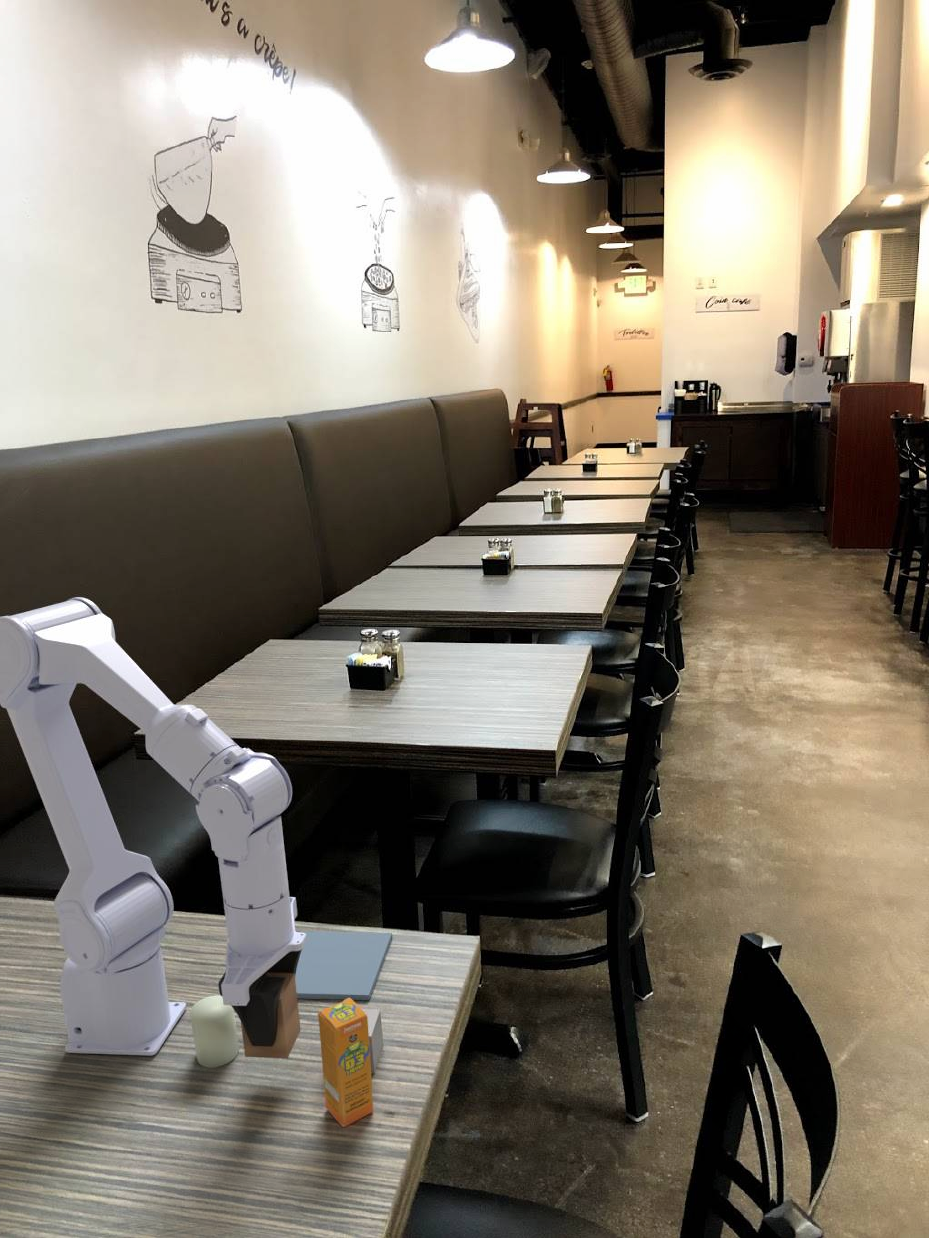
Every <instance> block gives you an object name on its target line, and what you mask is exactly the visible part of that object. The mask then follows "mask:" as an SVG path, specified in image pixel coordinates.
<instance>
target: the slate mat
mask: <svg viewBox="0 0 929 1238" xmlns="http://www.w3.org/2000/svg"><path fill="white" fill-rule="evenodd" d="M300 932H303V933H305V934H306V938H307V941H306V943H305V945H304V947H303V949H302V951H301V954H300V957H299V961H298V965H297V969H296V975H295V982H296V992H297V999H307V1000H310V999H313V1000H342V1001H344V1000H345V999H347V998H351V999H352V1000H353V1001H370V1000H371V997H372V994H373V992H374V989H375V986H376V984H377V980H378V979H379V975H380V972H381V969H382V966H383V964H384V961H385V959H386V956H387V954H388V951H389V948H390V945H391V943H392V939H393V933H392V932H369V931H368V932H367V931H365V932H364V931H362V932H359V931H309V930H308V931H301V930H300Z"/></svg>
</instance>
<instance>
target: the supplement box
mask: <svg viewBox="0 0 929 1238" xmlns="http://www.w3.org/2000/svg"><path fill="white" fill-rule="evenodd" d="M362 1009H363V1008H361V1007H360V1006H359V1005H358V1004H357V1003H356V1002H355V1000H352V999H351V998H347V999H345V1000H342V1001H341V1002H338V1003H337V1004H334V1005H332V1006H330V1007H325V1008H323V1009H320V1010H319V1011H318V1012H317V1016H318V1017H317V1018H318V1027H319V1040H320V1053H321V1062H322V1075H323V1076H322V1077H323V1088H324V1089H323V1090H324V1101H325V1102H324V1103H325V1108H326V1110H327V1111H328V1112H329V1113H330V1114H331V1115H332V1117H333V1118H334V1119H335V1120H336V1121H337V1122H338V1124H339V1125H340V1126H341V1127H342V1128H346V1127H348V1126H349V1125H351V1124H353V1123H355V1122H357V1121H358V1120H360V1119H363V1118H364V1117H366V1116H368V1115H370V1114H372V1113H373V1112H374V1102H373V1101H374V1100H373V1085H372V1084H373V1082H372V1081H373V1080H372V1073H371V1064H370V1049H369V1032H368V1018H367V1015H366V1013H365V1012H364V1011H363V1010H362Z"/></svg>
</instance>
